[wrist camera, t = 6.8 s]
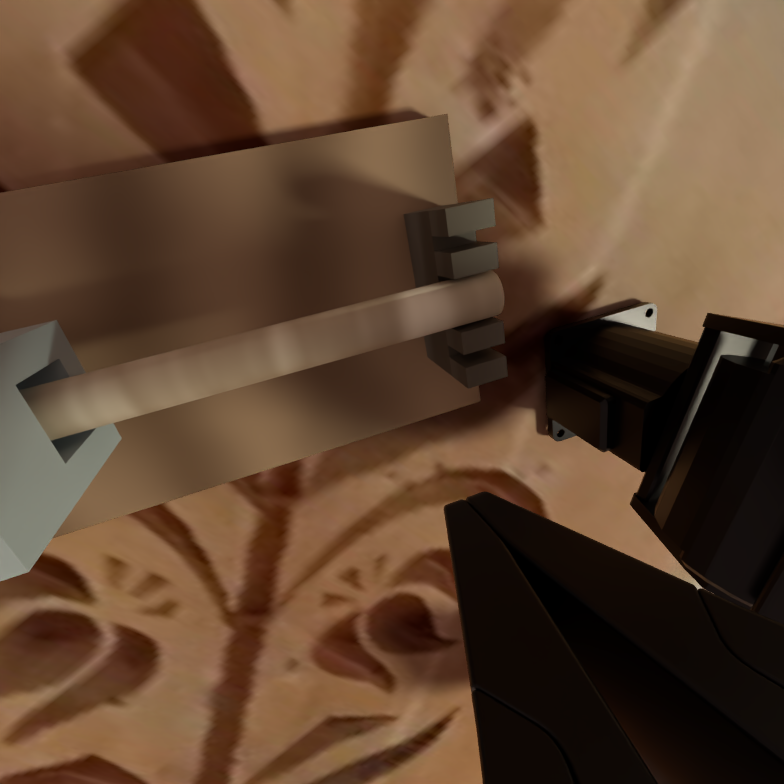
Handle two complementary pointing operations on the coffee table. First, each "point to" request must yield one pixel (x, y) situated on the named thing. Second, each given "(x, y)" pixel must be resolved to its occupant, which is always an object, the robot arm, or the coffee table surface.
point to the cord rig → (254, 305)
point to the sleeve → (39, 448)
